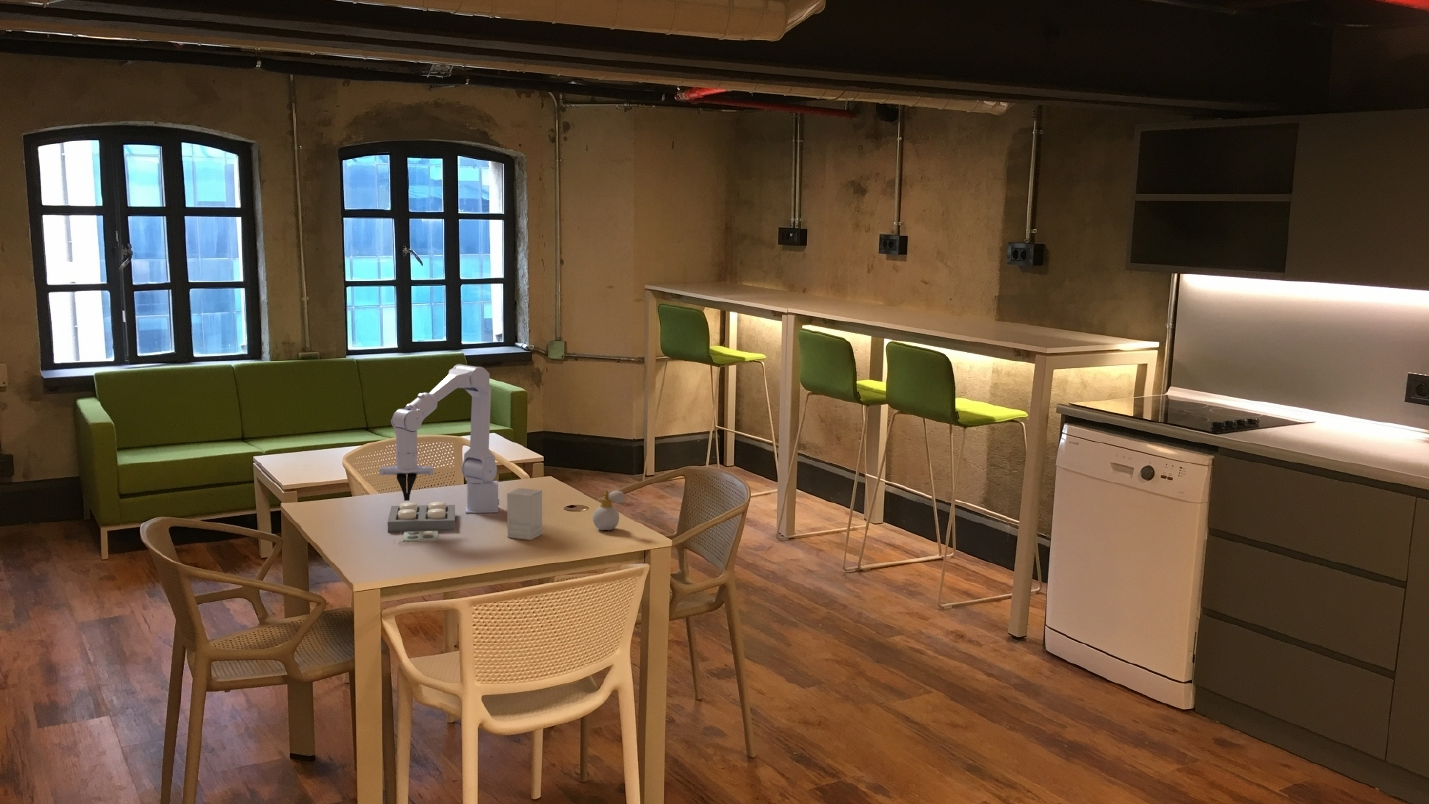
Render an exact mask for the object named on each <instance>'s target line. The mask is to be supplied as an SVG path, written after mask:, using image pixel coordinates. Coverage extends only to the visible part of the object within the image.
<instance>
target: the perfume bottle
mask: <svg viewBox="0 0 1429 804" xmlns="http://www.w3.org/2000/svg"><path fill="white" fill-rule="evenodd" d="M625 495H626V494H624V492H623V491H621V490H613V491H611V492H608V489H605V491H604V494H603V496H604V497H602V498H601V500H600V501H601V503H600V505H599V506H598V507H597V508H596V509H595V510H594V512H593V514H592V522H593V524H594V526H595V527H596V528H597V529H598V530H600V531H603V530H608V531H612V530H614V529H615V528H617V526H618V524H619V521H620V513H619V511H618V510H617V508H616V507H614V506H613V503H615V504H621V503H623V502H624V501H625V498H626V496H625ZM612 502H613V503H612Z"/></svg>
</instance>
